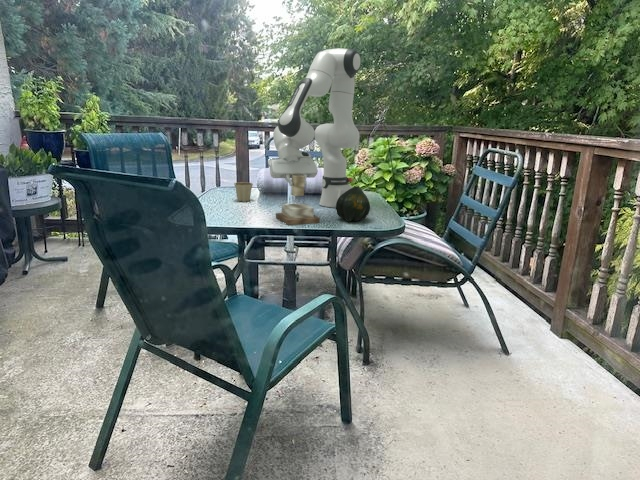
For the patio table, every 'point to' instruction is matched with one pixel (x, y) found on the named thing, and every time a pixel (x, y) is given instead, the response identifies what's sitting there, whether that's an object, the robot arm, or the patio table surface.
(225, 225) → the patio table surface
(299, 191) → the birch block
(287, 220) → the plinth
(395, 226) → the patio table surface
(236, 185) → the flower pot
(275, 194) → the patio table surface
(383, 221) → the patio table surface
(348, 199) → the squash
